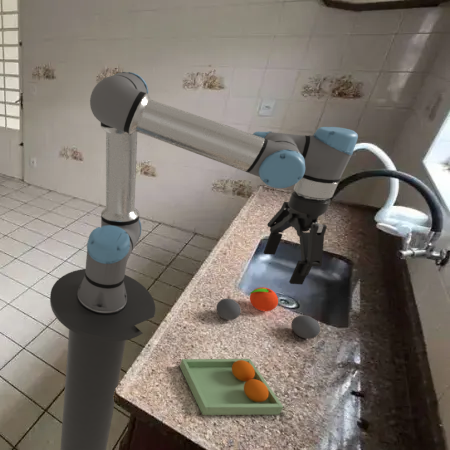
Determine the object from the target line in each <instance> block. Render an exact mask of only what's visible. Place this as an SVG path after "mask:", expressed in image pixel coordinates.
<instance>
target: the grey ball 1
mask: <svg viewBox="0 0 450 450" xmlns="http://www.w3.org/2000/svg"><path fill="white" fill-rule="evenodd" d="M215 307H216V312H217V314H218V316H219V317H220V318H222V319H223V320H225V321H226V320H227V321H232V320H236V319H237V318H239V316H240V315H241V313H242V312H241V310H242V309H241V306H240V304H239V303H238V302H237V301H236V300H234V299H233V298H222V299H220V300H219V301H218V302H217V304H216V306H215Z"/></svg>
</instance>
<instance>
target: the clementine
mask: <svg viewBox="0 0 450 450" xmlns="http://www.w3.org/2000/svg"><path fill="white" fill-rule="evenodd" d="M249 301H250V304H251V305H252V307H253V308H254V309H256V310H258V311H260V312H271V311H273V310H274V309H276V308H277V306H278V305H279V297H278V295H277V294H276V292H275V291H274V290H272V289H271V288H268V287H263V286H262V287H256V288H254V289H253V290H252V291H251V292H249Z"/></svg>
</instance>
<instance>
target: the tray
mask: <svg viewBox="0 0 450 450" xmlns="http://www.w3.org/2000/svg"><path fill="white" fill-rule="evenodd" d="M238 360H244V361H247V362H248V363H250V364H251V365H252V366H253V368H254V370H255V376H254V378H253V379H256V380H259V381H261V382H263V383H264V384H265V385H266V387H267V388H268V391H269V396H268V398H267V399H266V400H265V401H263V402H255V401H252V400H251V399H249V398H248V397H247V396H246V394H245V392H244V384H245V383H246V382H247V381H241V380H239V379H237V378H236V377H235V376H234V375H233V373H232V365H233V363H234V362H236V361H238ZM179 368H180V370H181V372H182V374H183V376H184V378H185V381H186V383H187V385H188V387H189V389H190V391H191V393H192V396H193V398H194V400H195V402H196V404H197V406H198V409H199V410H200V413H201V414H202V415H201V416H233V415H234V416H236V415H237V416H240V415H241V416H242V415H244V416H246V415H248V416H249V415H250V416H251V415H252V416H253V415H254V416H255V415H256V416H257V415H270V416H271V415H281V412H282V411H283V409H284V406H283V404H282V402H281V401H280V399H279V398H278V397H277V396H276V394H275V392H274V391H273V389H272V388H271V387H270V386H269V384H268V383H267V381H266V380H265V378H264V376H263V375H262V374H261V373H260V371H259V370H258V368H257V366H256V365H255V364H254V362H253V361H252V359H251V358H182V359H181V361H180V364H179Z"/></svg>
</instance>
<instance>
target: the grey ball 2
mask: <svg viewBox="0 0 450 450" xmlns="http://www.w3.org/2000/svg"><path fill="white" fill-rule="evenodd" d="M290 326H291V329H292V331H293V333H294V334H295V335H297V336H298V337H300V338H302V339H306V340H307V339H314V338H316V337H317V336H318V335H319V334H320V331H321V326H320V324H319V322H318V320H317V319H315V318H313V317H312V316H309V315H297V316H296V317H294V318H293V319H292V321H291V324H290Z"/></svg>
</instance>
